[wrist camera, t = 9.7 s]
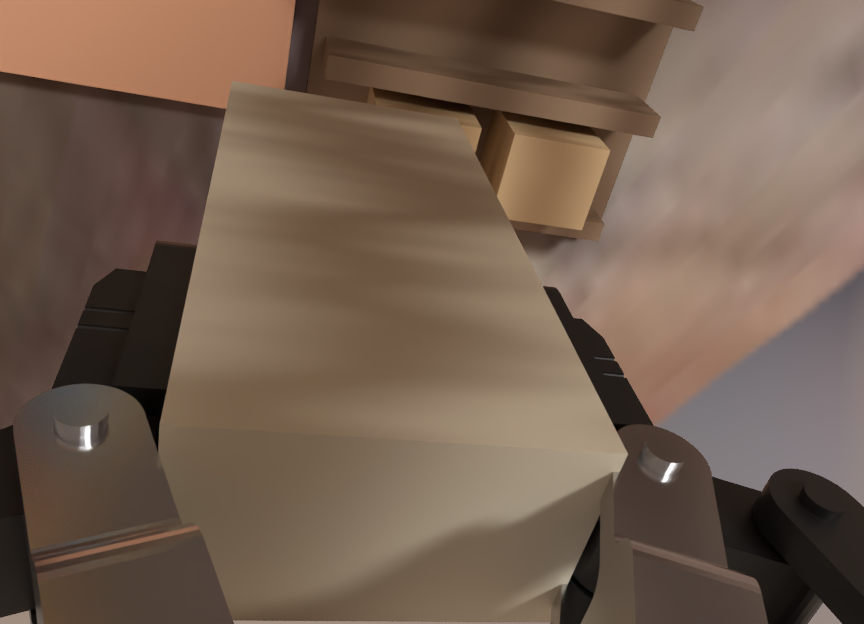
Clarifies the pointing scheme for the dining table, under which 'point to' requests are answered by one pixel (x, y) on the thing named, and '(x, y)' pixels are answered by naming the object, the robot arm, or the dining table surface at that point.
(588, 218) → the rack
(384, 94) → the offcut
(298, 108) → the long beige rectangular prism
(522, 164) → the offcut
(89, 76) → the tile
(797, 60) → the dining table surface
